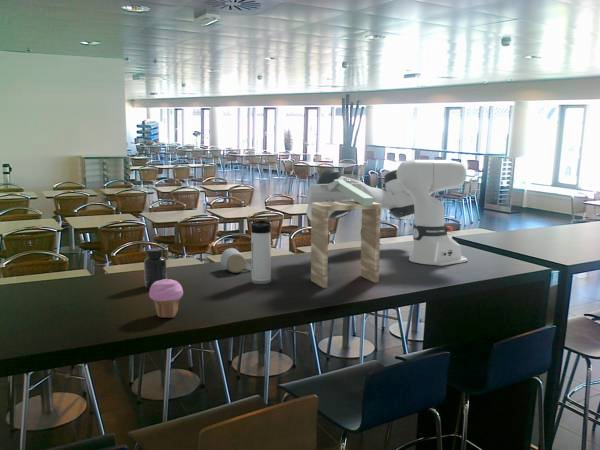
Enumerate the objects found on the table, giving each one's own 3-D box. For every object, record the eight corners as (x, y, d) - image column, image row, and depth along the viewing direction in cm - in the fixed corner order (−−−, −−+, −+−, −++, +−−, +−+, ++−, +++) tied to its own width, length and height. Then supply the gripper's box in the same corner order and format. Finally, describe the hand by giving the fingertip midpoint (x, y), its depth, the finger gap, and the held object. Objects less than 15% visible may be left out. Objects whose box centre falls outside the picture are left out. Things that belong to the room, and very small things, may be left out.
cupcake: (181, 321, 142) (180, 283, 141) (147, 321, 142) (145, 283, 140) (185, 310, 151) (184, 274, 150) (153, 311, 150) (152, 275, 149)
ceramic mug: (226, 274, 191) (226, 252, 190) (220, 269, 198) (220, 248, 197) (255, 272, 195) (256, 251, 194) (248, 267, 203) (248, 246, 202)
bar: (341, 186, 196) (342, 179, 195) (372, 205, 175) (373, 197, 174) (333, 186, 195) (334, 179, 194) (363, 205, 174) (364, 198, 173)
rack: (364, 275, 191) (366, 200, 187) (378, 282, 182) (380, 203, 178) (310, 280, 184) (311, 202, 180) (323, 287, 175) (324, 205, 171)
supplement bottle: (160, 282, 180) (158, 246, 178) (171, 286, 175) (170, 249, 173) (140, 286, 175) (139, 249, 173) (151, 290, 170) (150, 252, 169)
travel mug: (272, 279, 185) (272, 220, 182) (269, 284, 178) (269, 223, 175) (253, 279, 185) (253, 220, 182) (250, 284, 179) (249, 223, 176)
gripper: (355, 205, 206) (371, 189, 194) (304, 207, 199) (317, 191, 186) (352, 189, 208) (367, 173, 196) (301, 191, 201) (314, 174, 188)
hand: (343, 182), depth 191 cm, fingers closed on bar, 3 cm apart
